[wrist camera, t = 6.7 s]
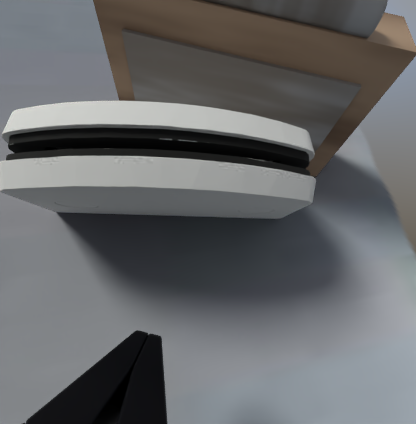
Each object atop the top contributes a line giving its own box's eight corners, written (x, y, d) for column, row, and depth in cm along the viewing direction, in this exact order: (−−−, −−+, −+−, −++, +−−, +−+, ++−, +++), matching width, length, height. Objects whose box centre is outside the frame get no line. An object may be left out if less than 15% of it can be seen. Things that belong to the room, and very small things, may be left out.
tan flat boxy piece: (315, 179, 20) (448, 21, 10) (125, 132, 20) (72, -64, 11) (316, 144, 22) (426, -16, 12) (143, 102, 23) (113, -86, 13)
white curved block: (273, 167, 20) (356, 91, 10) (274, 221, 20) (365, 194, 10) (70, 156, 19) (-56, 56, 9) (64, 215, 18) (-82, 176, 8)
